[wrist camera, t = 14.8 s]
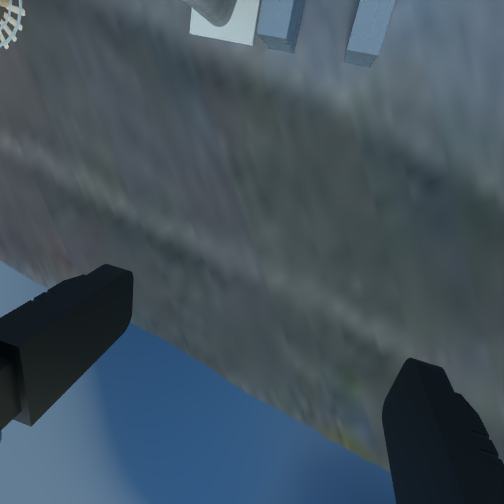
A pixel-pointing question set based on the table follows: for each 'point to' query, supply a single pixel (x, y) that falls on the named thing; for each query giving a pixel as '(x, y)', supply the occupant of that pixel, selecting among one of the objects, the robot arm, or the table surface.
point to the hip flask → (214, 10)
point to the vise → (362, 36)
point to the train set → (6, 2)
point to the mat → (230, 24)
